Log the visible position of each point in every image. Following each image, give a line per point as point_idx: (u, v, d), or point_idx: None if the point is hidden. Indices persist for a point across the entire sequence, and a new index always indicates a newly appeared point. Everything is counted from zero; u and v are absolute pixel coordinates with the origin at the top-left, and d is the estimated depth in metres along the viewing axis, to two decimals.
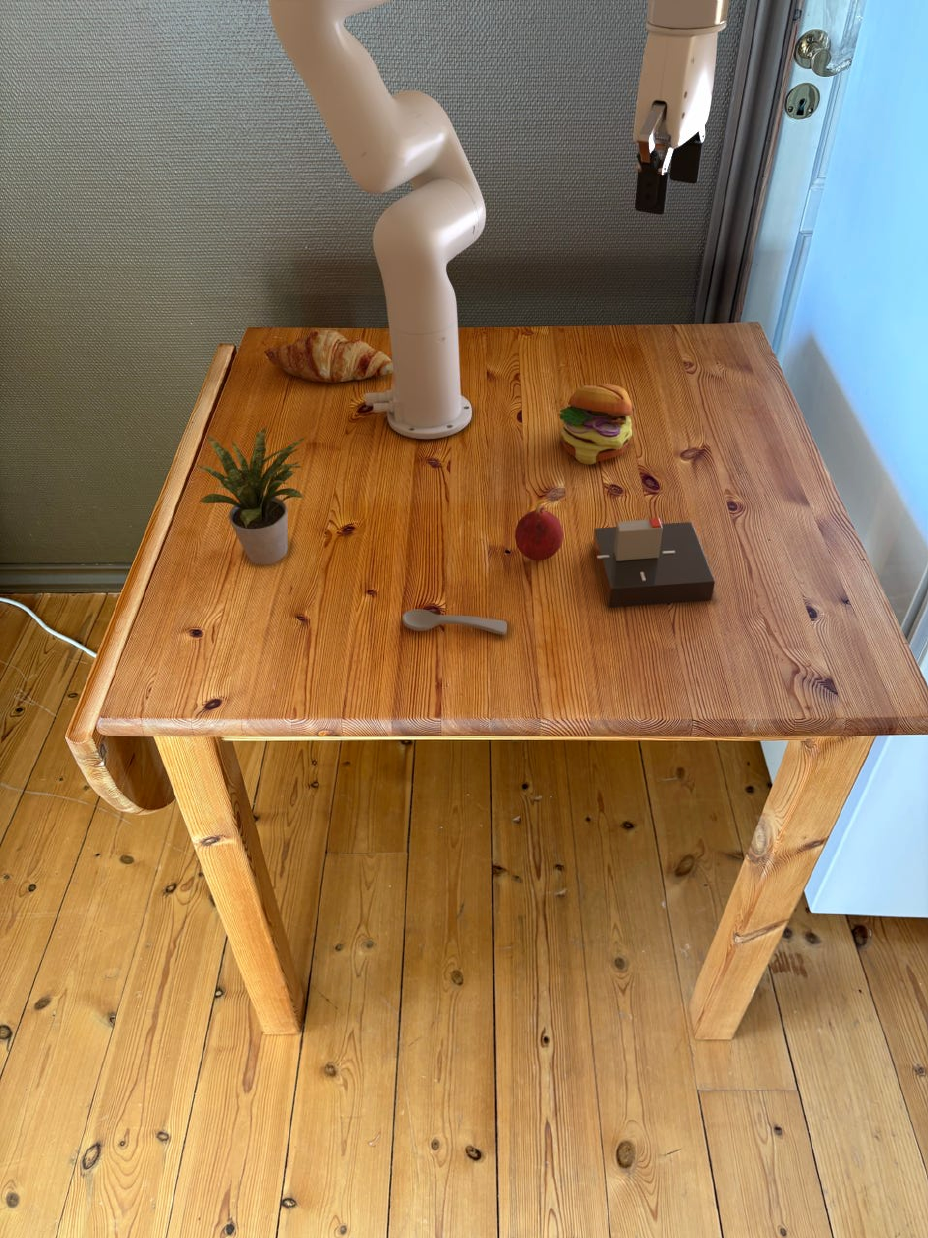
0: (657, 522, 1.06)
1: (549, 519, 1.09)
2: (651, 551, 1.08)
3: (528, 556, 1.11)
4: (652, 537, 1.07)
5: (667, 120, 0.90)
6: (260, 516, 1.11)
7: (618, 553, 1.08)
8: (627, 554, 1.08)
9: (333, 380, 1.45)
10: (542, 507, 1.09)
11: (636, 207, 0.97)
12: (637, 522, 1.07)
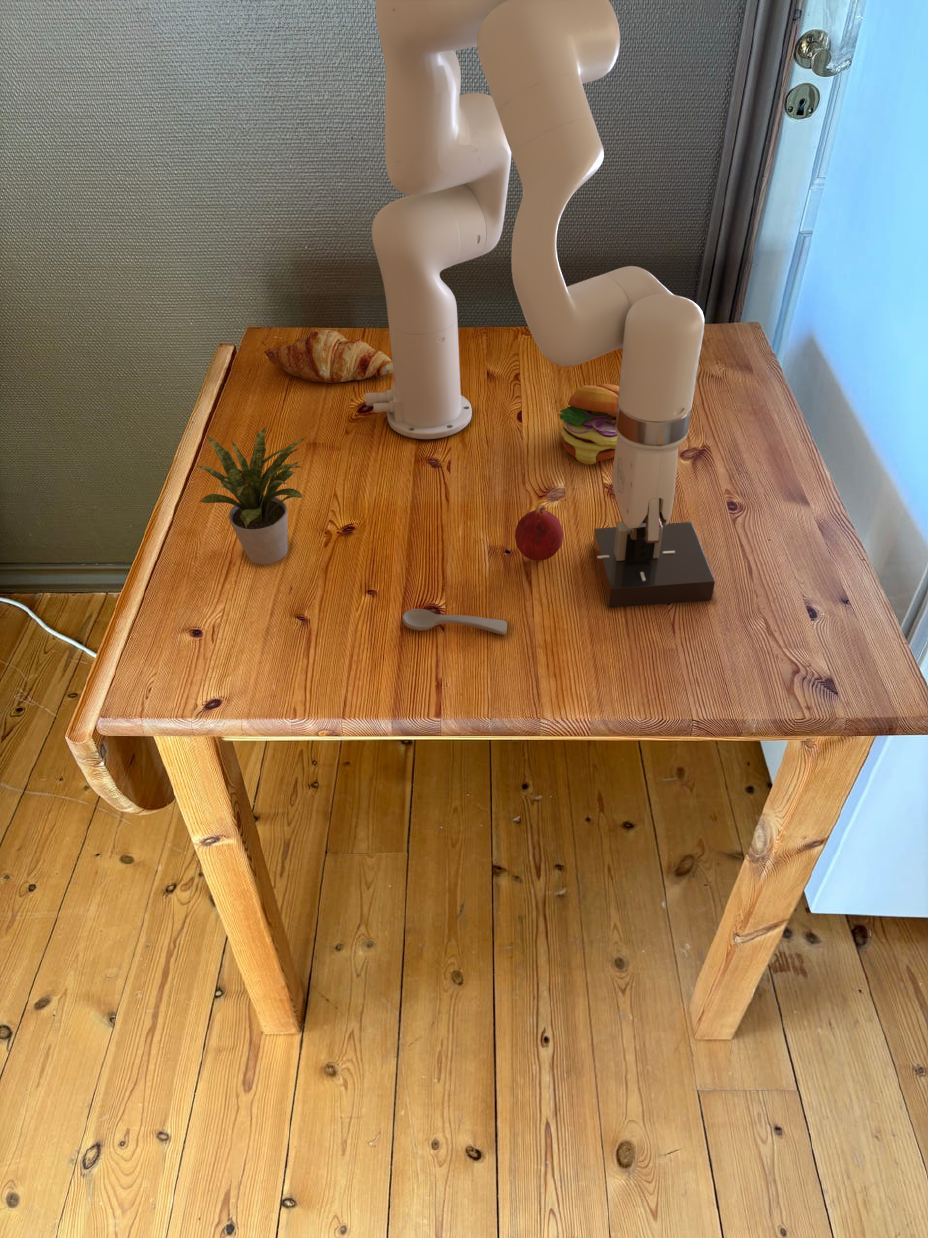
0: None
1: (549, 519, 1.09)
2: None
3: (528, 556, 1.11)
4: None
5: (663, 510, 0.99)
6: (260, 516, 1.11)
7: (618, 553, 1.08)
8: None
9: (333, 380, 1.45)
10: (542, 507, 1.09)
11: (626, 561, 1.08)
12: None
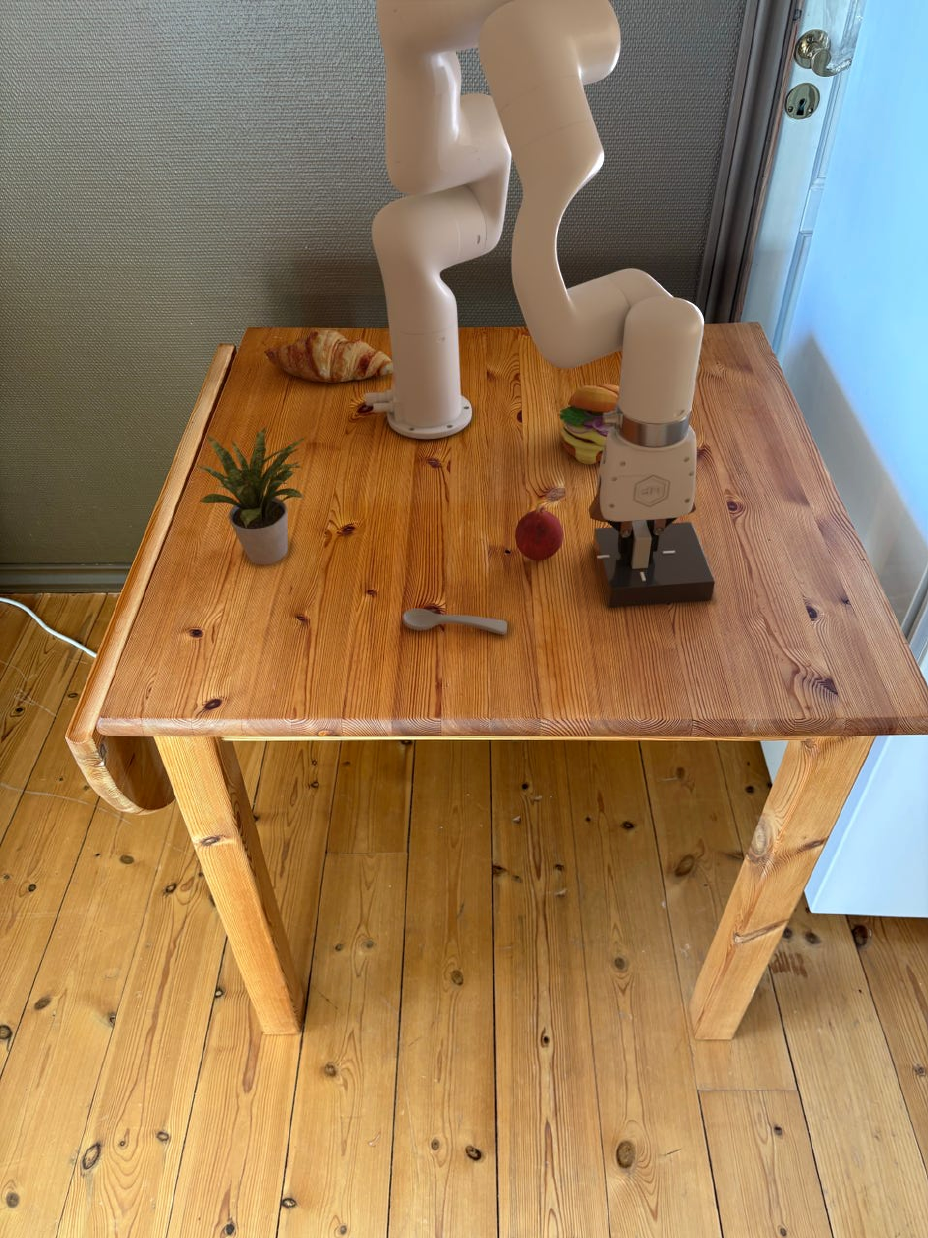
0: None
1: (549, 519, 1.09)
2: None
3: (528, 556, 1.11)
4: None
5: None
6: (260, 516, 1.11)
7: (648, 559, 1.07)
8: None
9: (333, 380, 1.45)
10: (542, 507, 1.09)
11: (651, 560, 1.08)
12: (636, 525, 1.06)
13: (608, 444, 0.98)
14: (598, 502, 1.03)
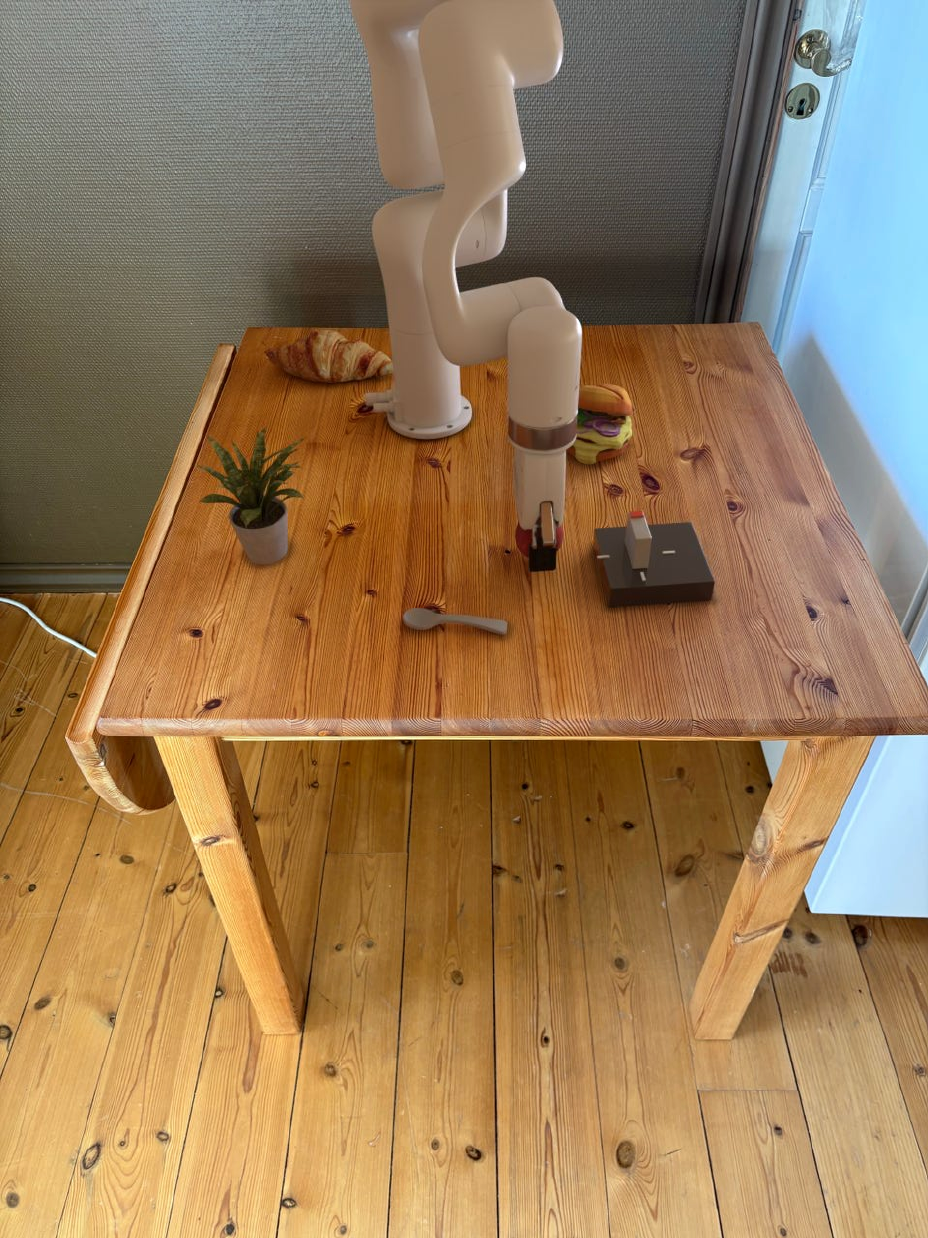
0: (637, 512, 1.08)
1: None
2: None
3: (528, 556, 1.11)
4: None
5: (554, 512, 1.03)
6: (260, 516, 1.11)
7: (648, 559, 1.07)
8: None
9: (333, 380, 1.45)
10: None
11: (530, 569, 1.10)
12: (636, 525, 1.06)
13: None
14: None
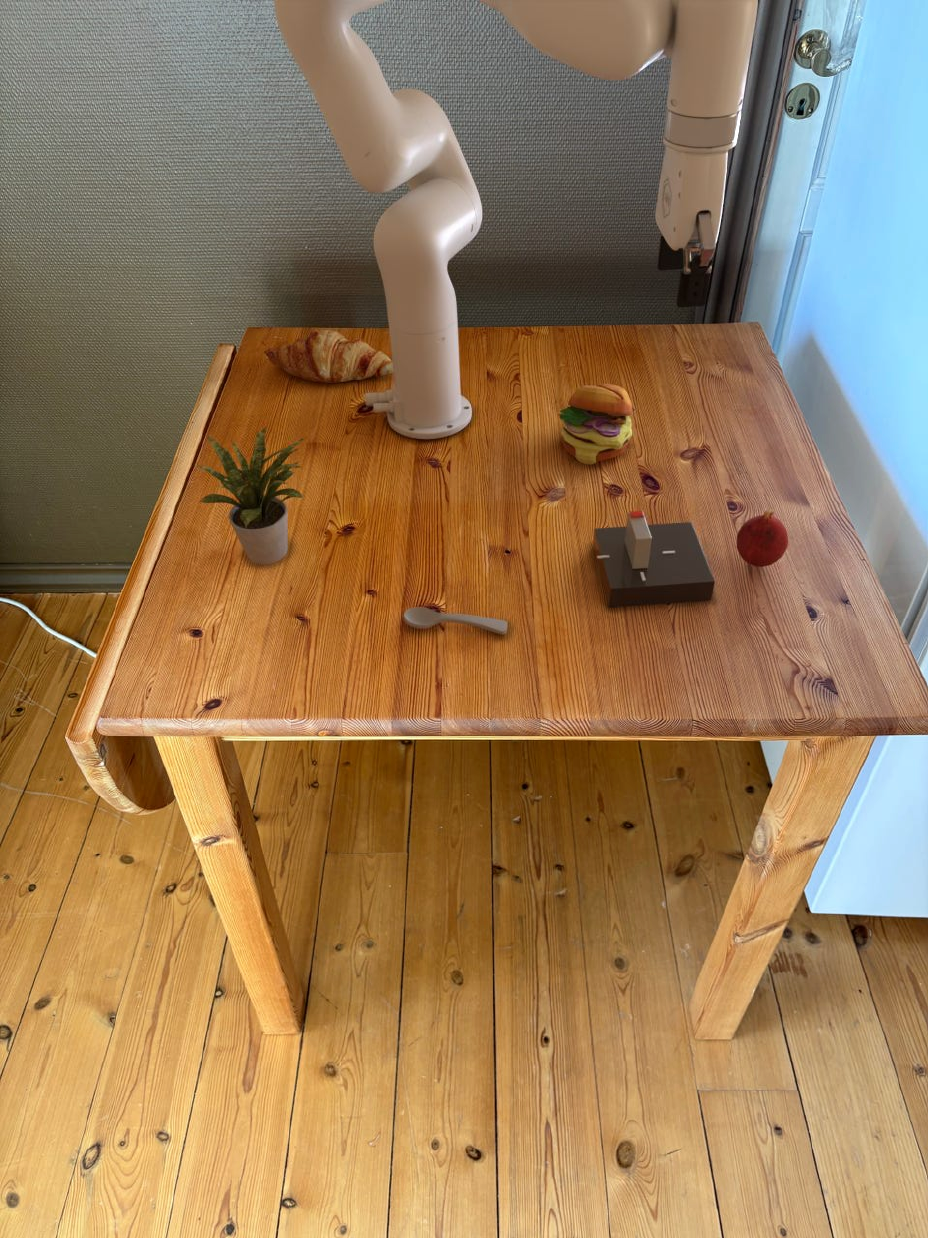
0: (637, 512, 1.08)
1: (778, 524, 1.07)
2: None
3: (752, 562, 1.09)
4: None
5: None
6: (260, 516, 1.11)
7: (648, 559, 1.07)
8: None
9: (333, 380, 1.45)
10: (771, 512, 1.07)
11: (678, 304, 1.04)
12: (636, 525, 1.06)
13: None
14: None
